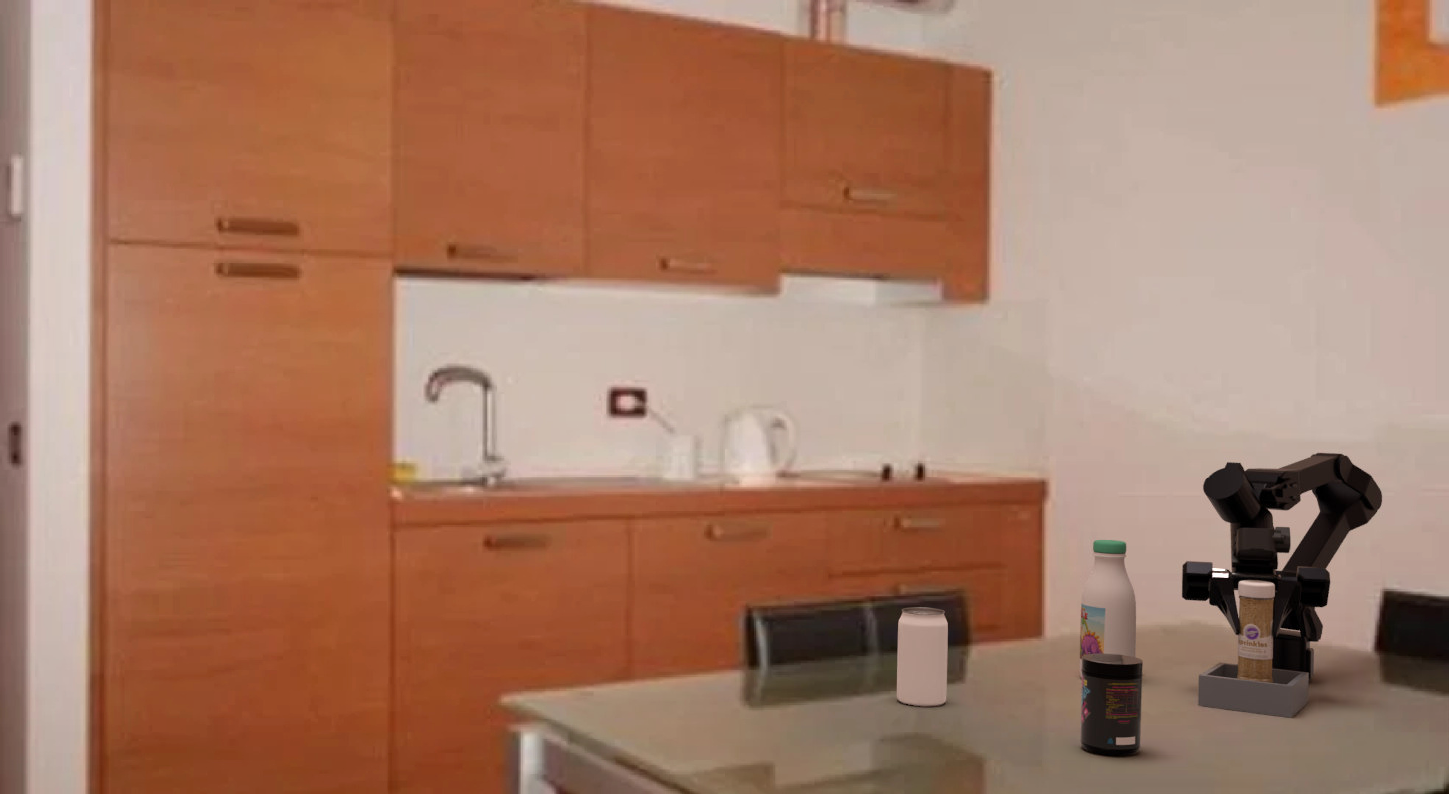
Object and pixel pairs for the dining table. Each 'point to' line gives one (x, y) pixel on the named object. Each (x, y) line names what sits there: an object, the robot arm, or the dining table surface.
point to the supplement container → (1111, 704)
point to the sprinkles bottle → (1255, 630)
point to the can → (922, 657)
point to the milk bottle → (1108, 604)
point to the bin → (1253, 691)
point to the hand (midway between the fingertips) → (1256, 634)
